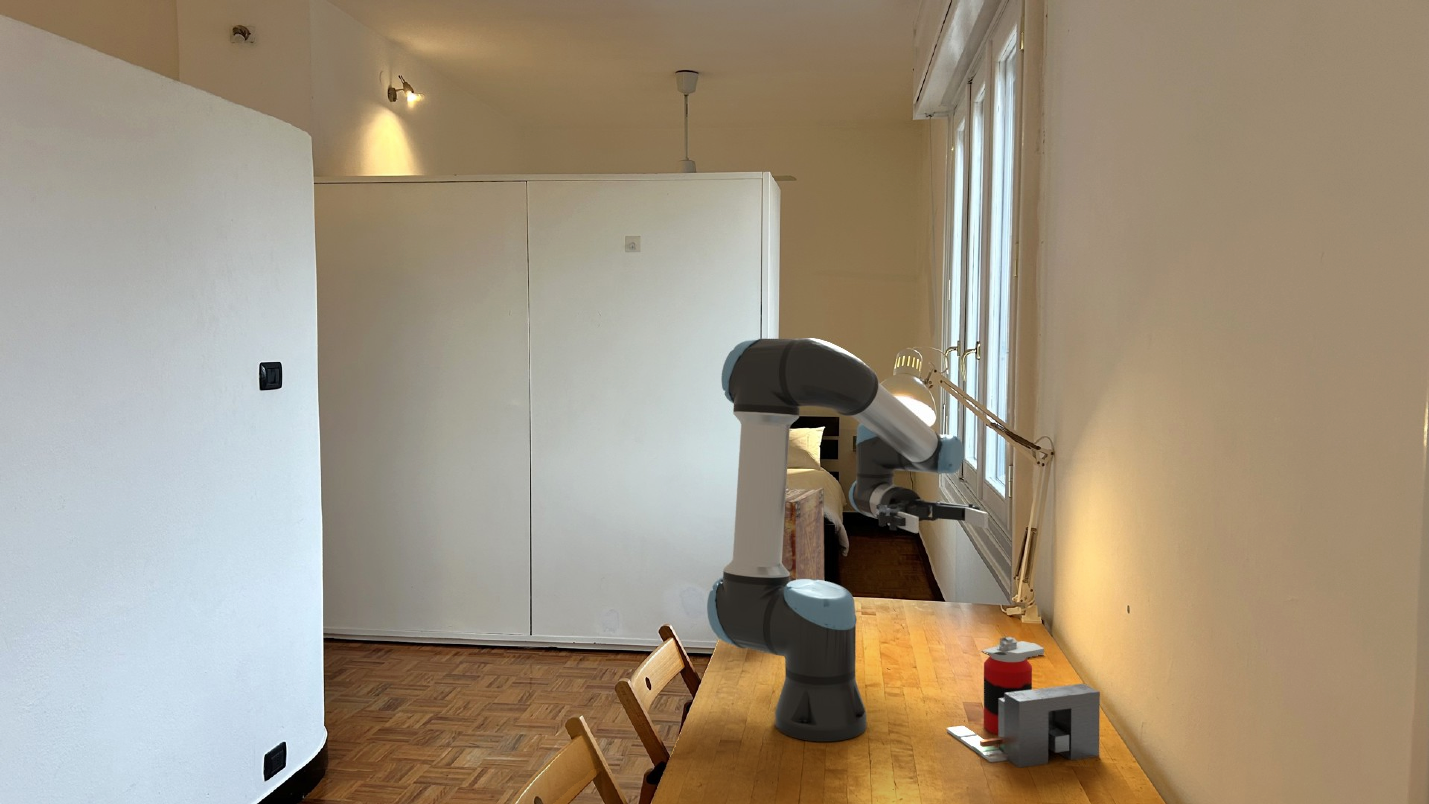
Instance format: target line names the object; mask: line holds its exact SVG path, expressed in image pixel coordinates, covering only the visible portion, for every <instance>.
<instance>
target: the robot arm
mask: <svg viewBox="0 0 1429 804" xmlns="http://www.w3.org/2000/svg"><path fill="white" fill-rule="evenodd" d="M721 388H722V391H724V395H725V397H726V399H727V400H728V402H730V403H732V405H733V409H732V410H733V411H732V413H733V415H734V416H735V418H736V419H737V420H738V421H739V423H740V436H739V453H738V454H739V455H738V468H737V469H738V470H737V471H738V472H737V484H736V485H737V488H736V502H735V503H736V504H735V518H734V534H733V551H732V560H731V562H729V563H728V564H727V565H726V566H724V567H723V572H722V573H723V575H722V577H720V578H719V579H717V580H716V581H715V582H714V584H713V585H712V589H711V590H710V591H709V593H708V597H707V602H706V603H707V604H706V610H707V611H706V613H707V619H708V622H709V625H710V628H711V630H712V631H713V633H714V634H715V635H716V637H717V638H718V639H719V640H721V641H722V642H724V643H727V644H729V645H733V646H735V647H737V648H739V649H748V650H749V649H750V650H753V651H758V652H760V653H761V652H762V653H767V654H772V655H775V656H780V657H784V662H785V663H784V664H785V665H784V667H785V668H784V669H785V671H784V672H785V673H784V674H785V677H784V682H783V685H782V688H781V691H780V694H779V698H778V701H777V702H776V703H777V704H776V707H775V712H774V718H775V719H774V724H775V728H776V729H777V728H778V729H777V730H778V731H779V730H780V731H779V732H781V731H782V732H781V733H782V734H784V735H786V736H788V735H789V737H791V738H794V737H795V738H794V739H797V740H798V739H799V740H804V741H811V742H838V741H845V740H849V739H852V738H855V737H858V736H860V735H861V734H863V733H864V732H865V730H866V729H867V711H866V707H865V705H864V701H863V699H862V696H861V694H860V693H861V692H860V690H859V687H858V683H857V679H856V651H857V650H856V649H857V648H856V641H857V638H856V630H857V629H856V628H857V627H856V625H857V619H858V618H857V616H856V615H857V614H856V606H855V599H854V597H853V595H852V593H851V592H850V591H849V590H848V589H846V588H845V587H843V586H842V585H839V584H837V583H834V582H830V581H827V580H826V581H825V580H824V581H822V580H811V579H799V580H794V581H791V582H789V576H790V573H789V572H788V570H787V569H786V568H785V567H784V566H783V564H782V548H783V531H784V515H785V498H786V486H787V480H788V479H787V478H788V461H789V446H790V428H791V426H792V424H793V423H794V422H796V421H797V420H798V419H799V418H800V410H801V409H800V407H820V408H826V409H829V410H830V409H831V410H833V411H835V412H836V413H837V414H838V415H840V416H843V417H852V418H853V419H855V420H856V421H857V422H858V423H859V424H858V426H857V428H856V442H855V446H856V478H855V479H856V480H855V481H854V482H853V483H852V485H851V487H850V489H849V491H848V498H849V502H850V505H851V507H852V508H854V510H855V511H857V512H859V513H860V514H862V515H864V516H866V517H869V518H870V517H871V518H874V519H877V520H878V527H882V528H883V527H885V526H886V525H888V526H889V530H890V531H897V528H899V529H902V530H905V531H908V532H911V533H914V534H918V533H919V532H920V531H919V523H920V522H923V521H932V522H933V521H934V522H935V521H937V520H939V519H940V520H949V521H950V520H951V521H961V522H965V523H966V524H968V525H972V526H975V527H980V528H983V529H989V513H988V512H986V511H983V510H981V507H980V506H979V505H974V503H972V502H971V503H968V504H963V503H962V504H961V503H952V502H945V501H941V500H936V501H926V500H924V499H921V497H920V495H919V494H918V493H917V492H916V491H914V490H913V489H911V488H906V487H903V486H901V485H897V484H896V485H895V484H894V481H895V480H894V479H895V478H894V477H895V471H905V472H917V473H930V474H938V475H941V474H944V475H945V474H949V475H950V474H951V475H953V474H955V473H958V471H960V469H961V467H962V465H963V462H964V454H965V453H964V451H965V450H964V446H963V442H962V441H961V439H960V438H959V436H956V435H950V434H948V433H947V434H946V433H944V434H940V433H938V432H936V431H935V430H934V429H933V428H932V427H930V426H929V425H928V424H927V423H926V422H925V421H924V420H922V419H921V418H920V417H919V416H918V415H916V414H915V413H914V412H913V411H912V410H911V409H909V408H908V407H907V406H906V405H905V404H904V403H903V402H901V401H900V399H898V398H897V397H896V396H895V395H893V394H892V393H891V392H890V391H889V390H888V389H886V388H885V387H884V386H883V385H882V384H881V383H880V381H879V377H878V374H877V373H876V371H874V369H872V368H871V367H870V366H869V365H867V364H866V363H865V362H864V361H863V360H861V359H860V358H858V357H857V356H855V355H854V354H852V353H850V352H849V351H847V350H845V349H844V348H841V347H840V346H838V345H836V344H833V343H831V342H829V341H825V340H822V339H819V338H812V337H811V338H810V337H808V338H807V337H806V338H805V337H803V338H758V339H751V340H745V341H741V342H740V343H738V344H736V345H735V346H734V348H733V349H732V350H731V351H729V353H728V354H727V356H726V357H725V360H724V363H723V366H722V370H721ZM930 515H931V516H930Z"/></svg>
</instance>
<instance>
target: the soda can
mask: <svg viewBox="0 0 1429 804" xmlns="http://www.w3.org/2000/svg"><path fill="white" fill-rule="evenodd" d="M1032 671H1033V666H1032V665H1031V663H1030V662H1029V661H1028V658H1026V657H1025V656H1023V655H1021V654H1018V653H1013V652H995V653H992V654H991V655H989V656H988V657H987V659H986V660H985V661H984V662H983V726H984V728H985V730H987V731H988V732H989V733H991V734H993V735H996V736H998V707H999V698H1004V693H1008V692H1017V691H1025V690H1033V689H1032V688H1033V672H1032Z"/></svg>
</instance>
